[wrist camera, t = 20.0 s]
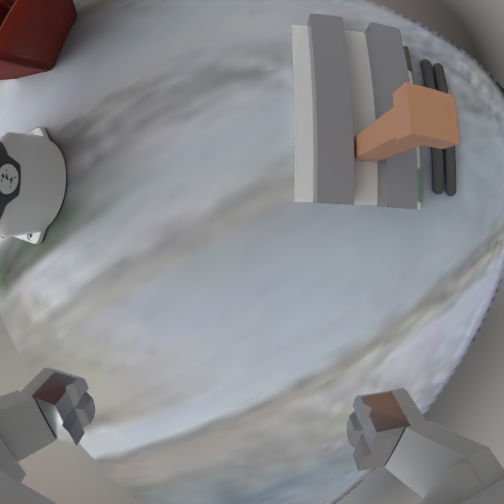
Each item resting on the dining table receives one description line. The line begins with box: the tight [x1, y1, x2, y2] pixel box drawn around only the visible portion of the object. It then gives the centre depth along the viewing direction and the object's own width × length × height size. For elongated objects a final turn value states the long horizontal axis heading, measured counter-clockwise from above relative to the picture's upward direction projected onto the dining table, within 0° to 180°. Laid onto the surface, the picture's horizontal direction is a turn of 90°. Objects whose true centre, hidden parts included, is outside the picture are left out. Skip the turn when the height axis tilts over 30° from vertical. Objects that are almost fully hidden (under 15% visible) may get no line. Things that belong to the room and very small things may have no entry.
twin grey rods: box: [421, 59, 456, 196], centre depth 29 cm, size 4×20×2 cm, turn 179°
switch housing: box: [291, 14, 422, 210], centre depth 28 cm, size 16×24×4 cm
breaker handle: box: [354, 82, 460, 162], centre depth 22 cm, size 4×4×16 cm
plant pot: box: [0, 0, 77, 80], centre depth 22 cm, size 19×19×17 cm
